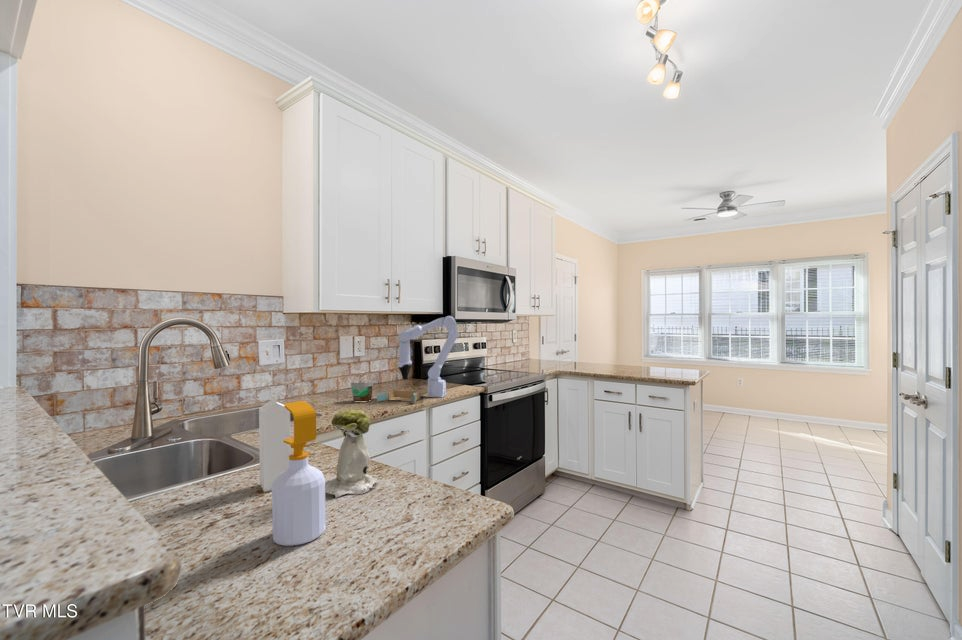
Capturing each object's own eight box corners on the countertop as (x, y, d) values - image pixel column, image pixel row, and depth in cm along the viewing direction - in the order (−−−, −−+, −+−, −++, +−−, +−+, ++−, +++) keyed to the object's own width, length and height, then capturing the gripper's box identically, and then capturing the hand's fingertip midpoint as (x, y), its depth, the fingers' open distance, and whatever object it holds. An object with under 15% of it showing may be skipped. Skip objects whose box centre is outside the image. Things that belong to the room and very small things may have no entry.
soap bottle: (310, 518, 83) (308, 396, 83) (334, 532, 77) (332, 401, 78) (264, 536, 76) (262, 404, 76) (287, 553, 71) (285, 410, 71)
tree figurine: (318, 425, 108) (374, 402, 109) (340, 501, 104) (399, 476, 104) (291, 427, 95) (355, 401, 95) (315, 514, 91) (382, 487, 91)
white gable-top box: (264, 492, 97) (262, 398, 97) (259, 484, 101) (258, 395, 101) (291, 485, 100) (290, 395, 100) (285, 478, 105) (284, 392, 105)
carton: (420, 398, 214) (420, 390, 214) (414, 401, 206) (414, 393, 206) (394, 397, 217) (394, 390, 217) (387, 400, 209) (387, 392, 209)
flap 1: (377, 401, 203) (377, 394, 203) (376, 401, 203) (376, 394, 203) (387, 399, 208) (387, 392, 208) (386, 399, 208) (386, 392, 208)
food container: (345, 402, 206) (345, 382, 206) (352, 400, 212) (352, 381, 212) (367, 403, 202) (366, 383, 202) (373, 401, 208) (373, 381, 208)
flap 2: (413, 400, 205) (412, 393, 205) (414, 399, 205) (414, 393, 205) (414, 402, 199) (414, 395, 199) (415, 402, 199) (415, 395, 199)
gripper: (403, 352, 227) (403, 377, 227) (392, 354, 213) (392, 381, 213) (415, 352, 226) (415, 377, 226) (404, 354, 212) (405, 381, 211)
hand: (405, 379), depth 219 cm, fingers closed
